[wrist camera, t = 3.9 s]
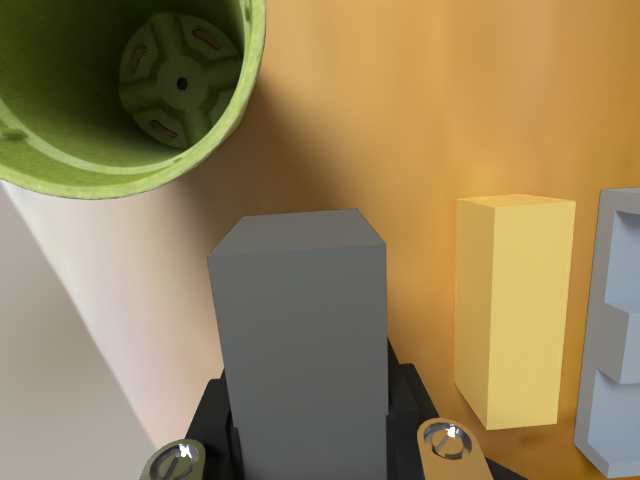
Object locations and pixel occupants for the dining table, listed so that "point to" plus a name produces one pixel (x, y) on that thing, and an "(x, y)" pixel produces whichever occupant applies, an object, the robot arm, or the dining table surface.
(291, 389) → the dark gray block
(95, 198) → the plant pot
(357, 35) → the dining table surface
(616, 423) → the slot rack
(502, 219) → the butter stick
